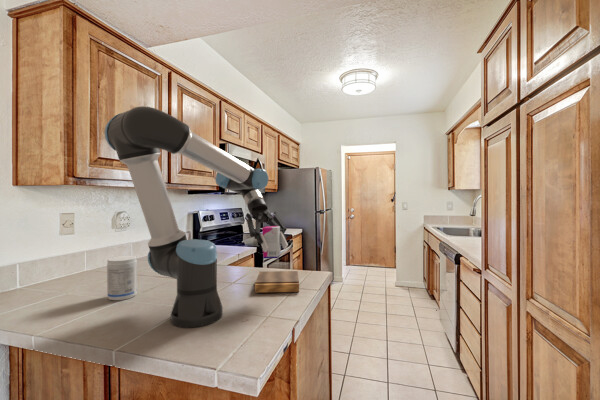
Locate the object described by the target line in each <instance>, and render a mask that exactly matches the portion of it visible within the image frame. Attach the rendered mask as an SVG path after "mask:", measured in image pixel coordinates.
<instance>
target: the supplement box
mask: <svg viewBox="0 0 600 400" xmlns="http://www.w3.org/2000/svg"><path fill="white" fill-rule="evenodd" d="M262 234H263V236H264V238H265V241H266V243H267V245H268V247H269V248H268V250H267V252H264V250H263V249H262V255H263V256H262V258H263V259H279V258H280V257H281V250H282V249H281V242H280V226H270V225H268V226H264V227H262Z"/></svg>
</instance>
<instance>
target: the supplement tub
mask: <svg viewBox="0 0 600 400" xmlns="http://www.w3.org/2000/svg"><path fill="white" fill-rule="evenodd" d="M106 269H107V270H106V272H107V274H106V275H107V276H106V277H107V279H106V281H107V299H109V300H110V301H123V300H125V301H126V300H128V299H131V298H133V297H134V298H135V296H136V295H137V294H138V260H137V256H136V255H118V256H114V257H110V258H107V263H106Z"/></svg>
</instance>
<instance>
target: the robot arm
mask: <svg viewBox="0 0 600 400" xmlns="http://www.w3.org/2000/svg"><path fill="white" fill-rule="evenodd" d="M104 137H105V141H106V142H107V144H108V146H109V147H110V148H111V149H112V150H114V151H115V152H116V154H117V157H118V160H119V162H120V163H122V164H124V165H126V167H127V169H128V172H129V174H130V175H129V176H130V178H131V181H132V184H133V187H134V189H135V193H136V196H137V199H138V202H139V204H140V205H139V206H140V208H141V212H142V214H143V216H144V220H145V223H146V226H147V229H148V232H149V234H150V239H149V241H148V242H147V245H148V249H149V252H148V253H147V262H148V264H149V266H150V268H151V269H152V271H154V272H155V273H158V274H159V275H161V276H164V277H169V278H172V279H175V280H176V296H175V300H174V303H173V306H172V308H171V310H170V311H171V312H170V323H171V324H172V325H173V326H175V327H179V328H198V327H202V326H203V327H204V326H207V325H210V324H213V323H215V322H217V321H218V320H220V319H221V318H222V317H223V309H224V307H223V304H222V301H221V298H220V296H219V293H218V289H217V288H218V287H217V286H218V284H217V283H218V282H217V281H218V279H217V278H218V277H217V276H218V273H217V272H218V254H217V253H218V252H217V246H216V244H215V243H214V242H212V241H209V240H206V239H196V238H191V239H188V238H187V235H186V233H185V231H183V230H181V229H179V226H178V223H177V219H176V216H175V213H174V210H173V209H174V208H173V206H172V203H171V200H170V196H169V193H168V189H167V186H166V183H165V180H164V176H163V173H162V170H161V166H160V164H159V157H160V156H161V153H162V152H161V150H162V151H163V150H164V151H166V152H168V153H170V154H173V155H176V154H180V155H182V156H184V157H185V158H188V159H189V160H192V161H193V162H196V163H197V164H200V165H201V166H203V167H206V168H208V169H209V170H211V171H214V172H215V173H216V175H215V178H214V179H215V184H216V185H217V186H218V187H220V188H222V189H225V190H229V191H230V192H231V191H232V192H235V193H237V194H239V195H241V196H242V198H243V200H244V202H245V204H246V207H247V209H248V212H247V213H246V214H245V215H244V216H245V217H244V219H245V221H246V223H247V227H248V231H249V232H248V233H249V237H250V238H253V237H254V239H255V240H257V241H256V242H258V244H259V245H261V247H262V251H263V250H264V252H267V250H268V248H269V247H268V245H267V243H266V241H265V238H264V236H263V233H261V224H262V223H265V224H266V225H268V226H280V245H281V246H282V248H283V250H286V249H287V248H288V246H289V244H288V242H287V237H286V234H285V233H286V231H287V229H288V228H287V227H286V226H285V223H283V221H282V219H281V218H280V217H279V215H278V212H277V211H274V212H271V211H270V210H269V209H268V205H267V203H266V201H265V199H264V197H263V195H262V192H261V191H260V189H264V188H266V187H267V185H268V183H269V175H268V172H267V171H266V169H264V168H253V167H252V166H250V165H249V164H246V163H245V162H244V161H242V160H239V159H238V158H236V157H235V156H233V155H232V154H229V153H228V152H227V151H225V150H223V149H222V148H219V147H218V146H217V145H215V144H213V143H212V142H210V141H208V140H207V139H205V138H203V137H202V136H200V135H198V134H197V133H194V132H193V131H191V128H190V125H188V124H187V123H185V122H183V121H182V120H180V119H178V118H176V117H175V116H173V115H170V114H169V113H167V112H165V111H163V110H160V109H158V108H155V107H152V106H151V107H150V106H144V105H143V106H136V107H133V108H131V109H129V110H127V111H124V112H120V113H117V114H116V115H114V116H113V117H112V118H110V120H108V122H107V123H106V124H105V128H104ZM253 220H255V225H254V222H253Z"/></svg>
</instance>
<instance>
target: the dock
mask: <svg viewBox="0 0 600 400" xmlns="http://www.w3.org/2000/svg"><path fill="white" fill-rule="evenodd" d="M298 273H299V272H298V270H286V271H285V270H284V271H282V270H281V271H280V270H279V271H278V270H276V271H274V270H273V271H259V273H258V274H257V278H256V280H255V283H254V293H256V294H257V293H296V292H298V293H300V279H299V274H298Z"/></svg>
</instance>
